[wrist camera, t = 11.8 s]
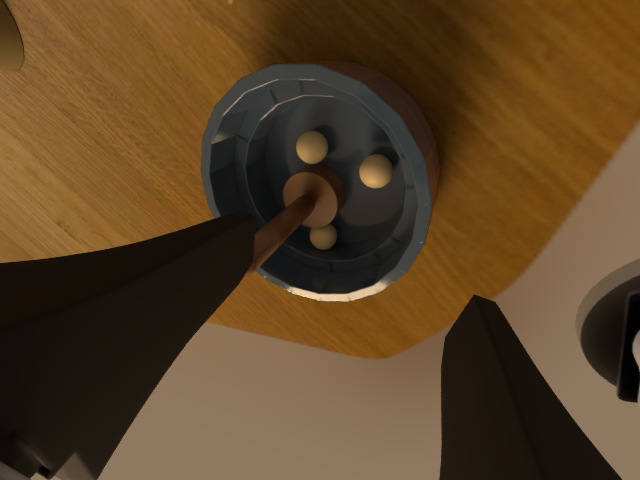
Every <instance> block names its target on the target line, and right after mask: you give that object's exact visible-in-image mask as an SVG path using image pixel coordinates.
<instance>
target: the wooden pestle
mask: <svg viewBox="0 0 640 480" xmlns="http://www.w3.org/2000/svg"><path fill="white" fill-rule="evenodd" d="M283 200H284V204H285V207H286V208H285V209H284V210H283V211H282V212H280V213H279V214H278V215H277V216H276V217H275V218H273V219H272V220H271V221H270V222H269V223H267V224H266V225H265V226H264V227H263V228H262V229H260V230H259V231H258V232H257V233H256V234H255V241H254V255H253V263H252V265H251V266H250V268H249V269H248V271H247V272H246V274H245V276H249V275H251V274H252V273H254V272H255V271H256V270H257V269H258V268H259V267H260V266H261V264H262V263H263V262H264V261H265V260H266V259H267V258H268V257H269V256H270V255H271V254H272V253H273V252H274V251H275V250H276V249H277V248H278V247H279V246H280V245H281V244H282V243H283V242H284V241H285V240H286V239H287V238H288V237H289V236H290V235H291V234H292V233H293V232H294V231H295V230H296V229H297V228H298V227H299V226H300V225H301V224H302V225H304V226H307V227H311V228H320V227H323V226H326V225H328V224H329V223H330V222H331V221H332V220H333V219H334V218H335V217H336V216H337V214H338V213H339V212H340V211H341V209H342V208H343V206H344V204H345V201H346V189H345V186H344V183H343V181H342V179H341V178H340V176H339V175H338V174H337V173H336V172H335V171H334V170H332V169H331V168H329V167H327V166H324V165H320V164H312V165H308V166H306V167H304V168H302V169H301V170H300V171H298V172H297V173H295V174H294V175H292V176H291V177H290V178H289V179H288V180H287V182H286V184H285V186H284V189H283Z"/></svg>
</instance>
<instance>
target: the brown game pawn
mask: <svg viewBox="0 0 640 480" xmlns="http://www.w3.org/2000/svg"><path fill="white" fill-rule="evenodd" d="M23 60H24V52H23V45H22V41H21V37H20V33H19V31H18V29H17V26H16V24H15V22H14V19H13V17H12V16H11V14H10V12H9V11H8V9H7V7H6V6H5V4H4V3H3V2H2V0H0V70H7V71H17V70H18V69H20V68H21V67H22V64H23Z"/></svg>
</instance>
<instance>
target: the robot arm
mask: <svg viewBox="0 0 640 480" xmlns="http://www.w3.org/2000/svg"><path fill="white" fill-rule="evenodd" d="M255 226H256V216H254V215H251V214H248V213H246V212H243V211H237V212H233V213H230V214H227V215H224V216H221V217H218V218H215V219H212V220H209V221H206V222H203V223H200V224H197V225H194V226H191V227H188V228H185V229H182V230H179V231H176V232H172V233H169V234H165V235H162V236H159V237H155V238H152V239H148V240H145V241H141V242H137V243H133V244H129V245H124V246H119V247H115V248H110V249H105V250H100V251H94V252H87V253H81V254H75V255H68V256H62V257H55V258H47V259H38V260H30V261H19V262H8V263H0V480H30V478H31V477H32V476H33V475H34V474H35V473H38V474H39V475H41V476H43V477H44V478H46V479H48V480H49V479H51V478H52V477H53V476H54V475H55V476H56V477H58V478H60V479H62V480H97V479H98V477H99V476H100V474H101V472H102V470H103V469H104V467H105V465H106V464H107V462H108V461H109V459H110V457H111V456H112V454H113V452H114V451H115V449H116V448H117V446H118V444H119V443H120V441H121V439H122V438H123V436H124V434H125V433H126V431H127V430H128V428H129V427H130V425H131V424H132V422H133V421H134V419H135V417H136V416H137V414H138V413H139V411H140V410H141V408H142V407H143V405H144V404H145V402H146V401H147V399H148V398H149V396H150V395H151V393H152V392H153V390H154V389H155V387H156V386H157V385H158V383H159V382H160V380H161V379H162V377H163V376H164V374H165V373H166V371H167V370H168V368H169V367H170V366H171V365H172V363H173V361H174V360H175V359H176V357H177V356H178V355H179V353H180V352H181V351H182V349H183V348H184V347H185V345H186V344H187V343H188V341H189V340H190V339H191V338H192V336H193V335H194V334H195V333H196V332H197V331H198V330H199V328H200V327H201V326H202V325H203V324H204V323H205V322H206V321H207V320H208V318H209V317H210V316H211V315H212V314H213V313H214V312H215V311H216V309H217V308H218V307H219V306H220V305H221V304H222V303H223V302H224V300H225V299H226V298H227V297H228V296H229V295H230V294H231V292H232V291H233V290H234V289H235V288H236V287H237V286H238V284H239V283H240V281H241V280H242V278H243V277H244V276H245V274H246V272H247V271H248V269H249V268H250V266H251V265H252V263H253V255H254V241H255ZM639 302H640V289H633V290H631V291H629V292H628V293H627V294H626V299H625V308H624V317H623V327H622V336H621V346H620V355H619V364H618V374H617V383H616V395H617V397H618V398H619V399H620V400H622V401H626V402H634V403H638V404H639V407H640V304H639V305H633V304H635V303H639ZM441 413H442V414H441V416H442V417H441V421H442V422H441V424H442V449H441V452H442V453H441V468H440V479H439V480H622V479H621V478H620V476H619V475H618V474H617V473H616V472H615V470H614V469H613V468H612V467H611V466H610V465H609V463H608V462H607V461H606V460H605V459H604V457H603V456H602V455H601V454H600V452H599V451H598V450H597V449H596V447H595V446H594V445H593V444H592V442H591V441H590V440H589V439H588V438H587V436H586V435H585V434H584V432H583V431H582V430H581V429H580V427H579V426H578V425H577V423H576V422H575V421H574V419H573V418H572V417H571V416H570V414H569V413H568V411H567V410H566V409H565V407H564V406H563V404H562V403H561V402H560V400H559V399H558V398H557V396H556V395H555V393H554V392H553V391H552V389H551V388H550V386H549V385H548V383H547V382H546V380H545V379H544V377H543V376H542V375H541V373H540V372H539V370H538V369H537V367H536V366H535V364H534V363H533V361H532V359H531V358H530V356H529V355H528V353H527V352H526V350H525V348H524V347H523V345H522V344H521V342H520V340H519V339H518V337H517V336H516V334H515V332H514V331H513V329H512V327H511V326H510V324H509V323H508V321H507V319H506V318H505V316H504V315H503V313H502V311H501V310H500V308H499V307H498V305H497V304H496V302H494V301H491V300H488V299H485V298H483V297H480V296H477V295H473V297H472V298H471V300H470V301H469V303H468V304H467V306H466V307H465V308H464V310H463V311H462V313H461V314H460V316H459V317H458V319H457V320H456V322H455V323H454V325H453V326H452V328H451V329H450V331H449V332H448V334H447V335H446V337H445V342H444V349H443V356H442V365H441Z"/></svg>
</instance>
